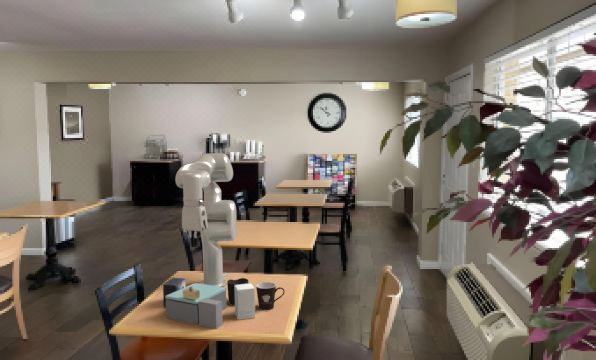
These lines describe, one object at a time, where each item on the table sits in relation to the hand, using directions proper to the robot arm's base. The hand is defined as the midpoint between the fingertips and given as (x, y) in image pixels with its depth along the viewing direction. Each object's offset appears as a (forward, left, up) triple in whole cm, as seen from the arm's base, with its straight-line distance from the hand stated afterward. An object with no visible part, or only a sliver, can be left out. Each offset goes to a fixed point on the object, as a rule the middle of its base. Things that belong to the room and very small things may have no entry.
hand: (195, 246), depth 205 cm
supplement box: (-7, +19, -30) cm, 36 cm away
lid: (-1, -1, -21) cm, 21 cm away
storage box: (-1, +3, -29) cm, 29 cm away
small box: (-6, -17, -30) cm, 35 cm away
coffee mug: (-19, +24, -30) cm, 43 cm away
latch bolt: (+7, +3, -19) cm, 21 cm away
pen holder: (-19, +8, -30) cm, 36 cm away
